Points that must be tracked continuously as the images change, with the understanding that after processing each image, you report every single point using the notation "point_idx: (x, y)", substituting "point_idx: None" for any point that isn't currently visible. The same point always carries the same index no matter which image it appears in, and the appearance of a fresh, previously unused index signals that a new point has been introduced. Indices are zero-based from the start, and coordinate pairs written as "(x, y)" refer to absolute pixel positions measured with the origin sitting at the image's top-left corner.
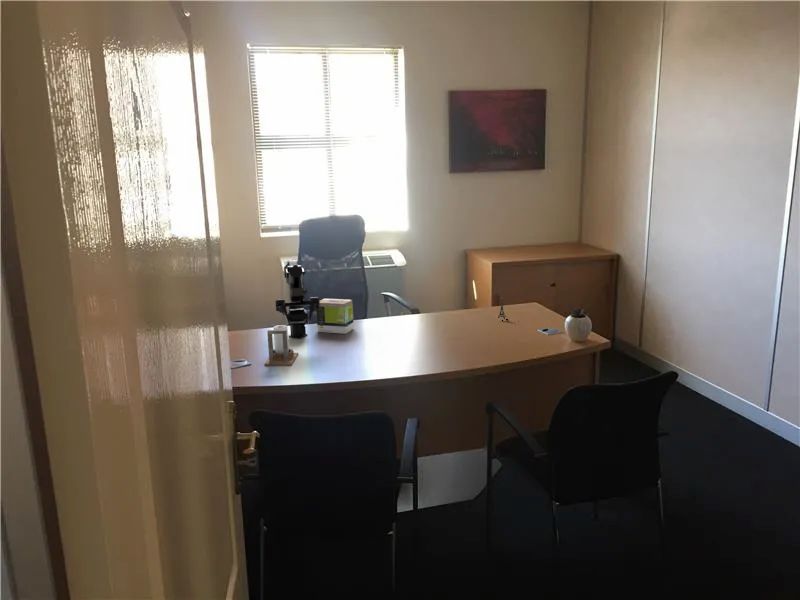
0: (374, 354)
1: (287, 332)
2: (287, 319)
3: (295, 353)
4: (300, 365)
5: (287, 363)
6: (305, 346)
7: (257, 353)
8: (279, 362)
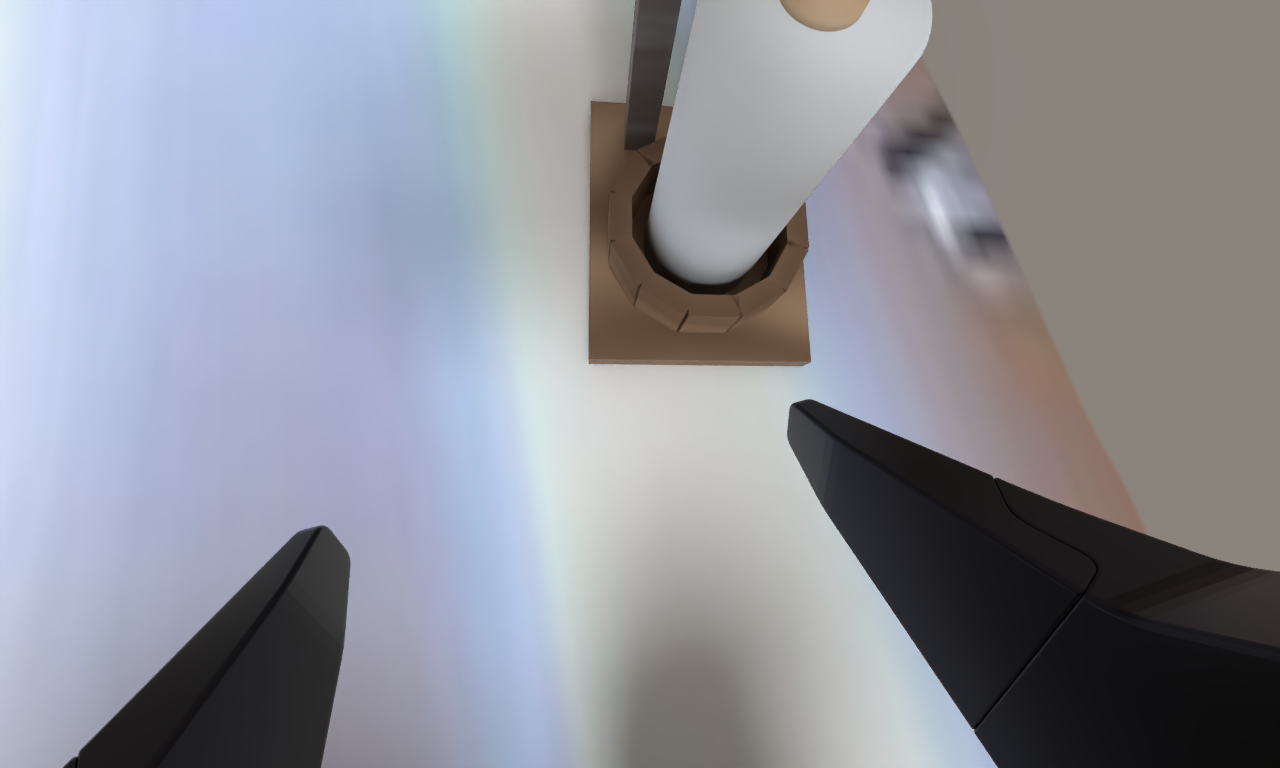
0: None
1: (684, 65)
2: (831, 412)
3: (609, 334)
4: (527, 118)
5: (622, 103)
6: (567, 619)
7: (935, 412)
8: None
